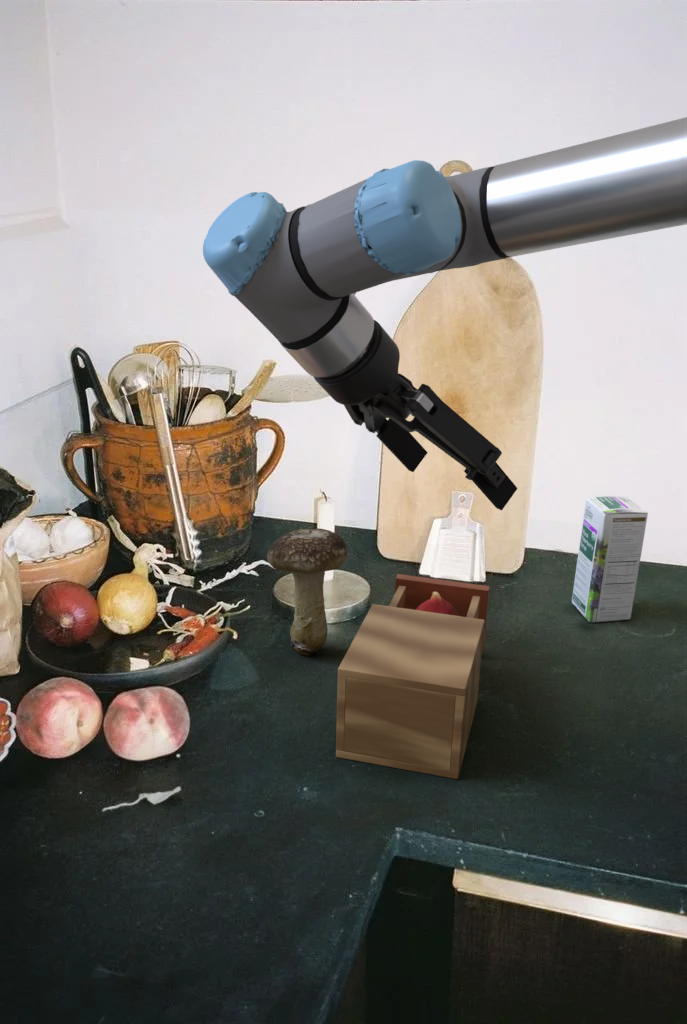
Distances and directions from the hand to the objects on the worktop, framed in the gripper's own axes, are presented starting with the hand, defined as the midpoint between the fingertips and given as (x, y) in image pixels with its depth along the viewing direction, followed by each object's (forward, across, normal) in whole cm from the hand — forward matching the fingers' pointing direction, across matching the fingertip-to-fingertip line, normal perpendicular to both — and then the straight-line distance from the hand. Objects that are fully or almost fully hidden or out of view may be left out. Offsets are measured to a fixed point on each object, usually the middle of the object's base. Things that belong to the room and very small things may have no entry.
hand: (460, 479), depth 96 cm
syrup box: (+34, 0, -2) cm, 34 cm away
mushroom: (+8, +11, +24) cm, 27 cm away
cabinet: (+8, -7, +23) cm, 26 cm away
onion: (+13, 0, +16) cm, 20 cm away
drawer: (+14, +1, +16) cm, 21 cm away
